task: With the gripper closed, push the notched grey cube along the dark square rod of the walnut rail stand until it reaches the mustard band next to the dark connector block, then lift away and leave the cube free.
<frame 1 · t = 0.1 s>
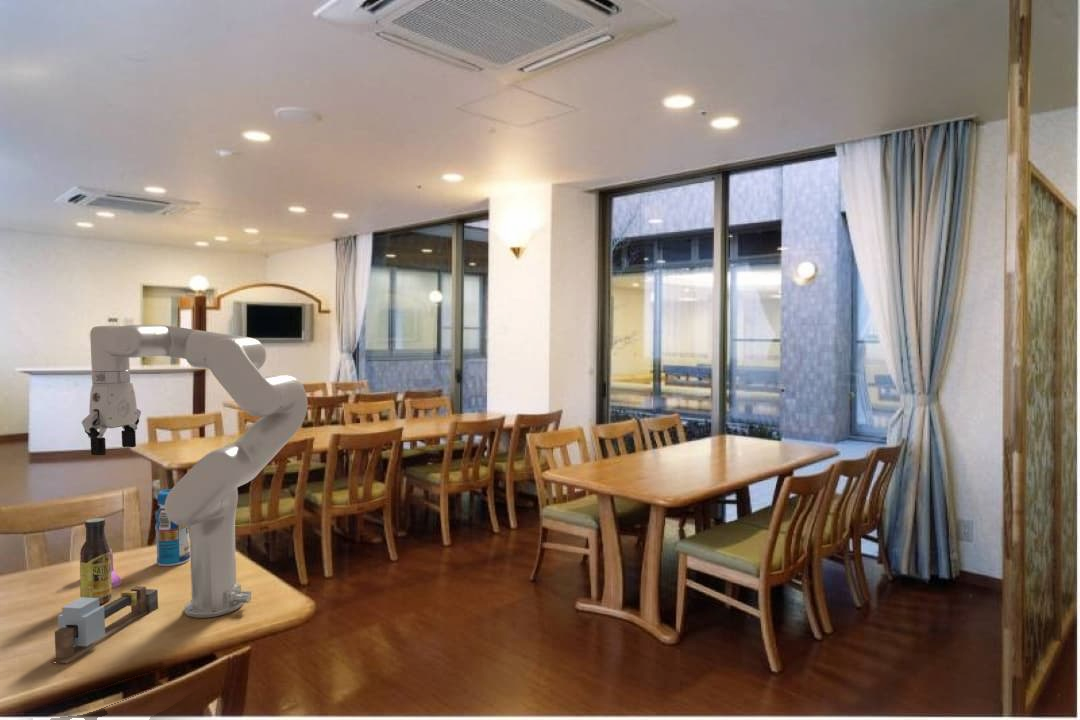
hand: (114, 450, 158), 37 cm above the table, tool pointing down, fingers open, 9 cm apart
beverage bottle: (173, 562, 188), on the table
notched grey cube: (81, 621, 137), point 6 cm above the table, slide at 0.0 cm
bracket: (104, 582, 174), on the table
sauce bottle: (97, 602, 161), on the table
rail stand: (104, 635, 144), on the table
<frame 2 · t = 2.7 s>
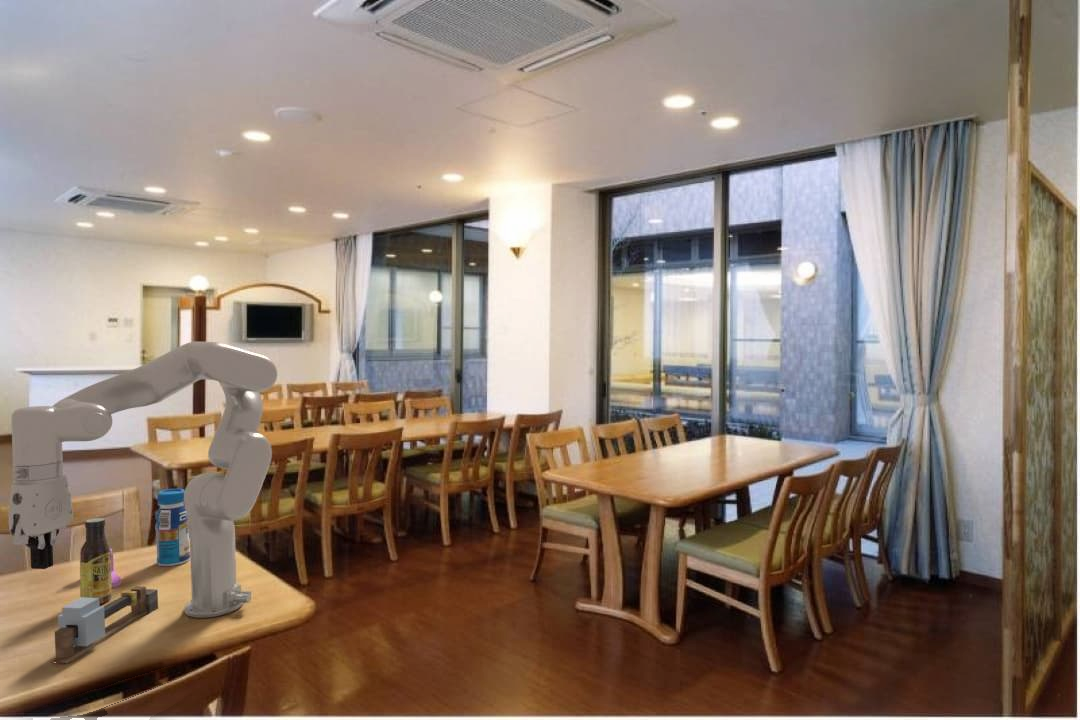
hand: (42, 567, 128), 20 cm above the table, tool pointing down, fingers closed
nothing on the table moved.
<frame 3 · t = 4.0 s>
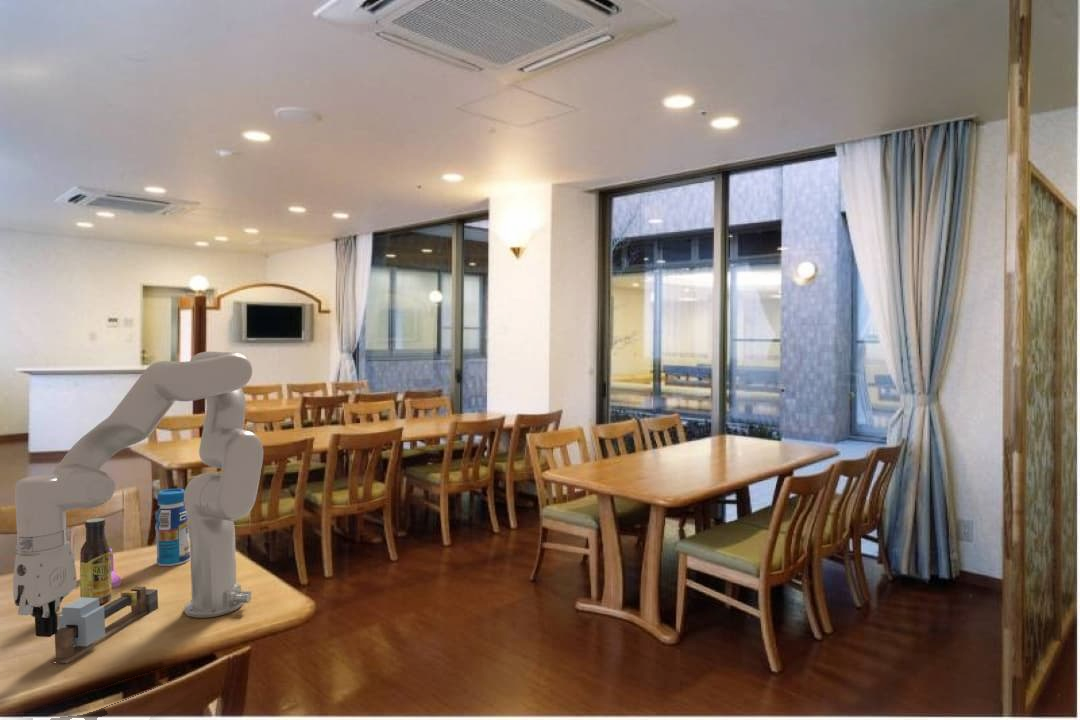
hand: (46, 634, 129), 7 cm above the table, tool pointing down, fingers closed
nothing on the table moved.
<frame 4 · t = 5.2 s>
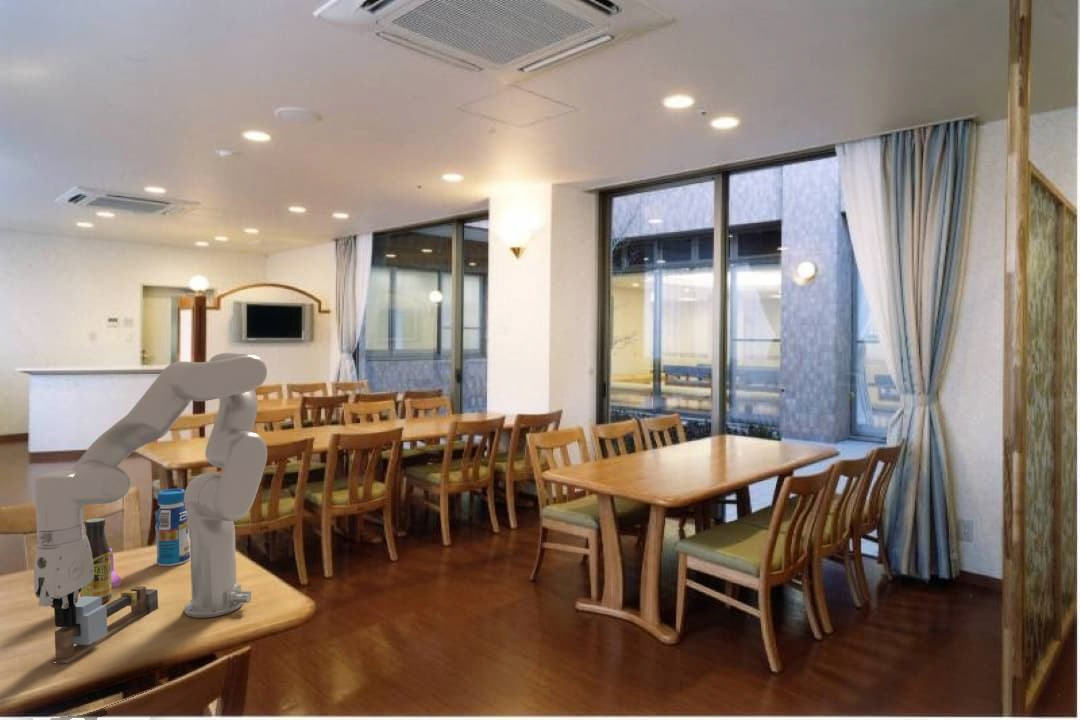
hand: (65, 625, 133), 7 cm above the table, tool pointing down, fingers closed
notched grey cube: (84, 619, 138), point 6 cm above the table, slide at 0.6 cm, touching gripper
everything else where it was.
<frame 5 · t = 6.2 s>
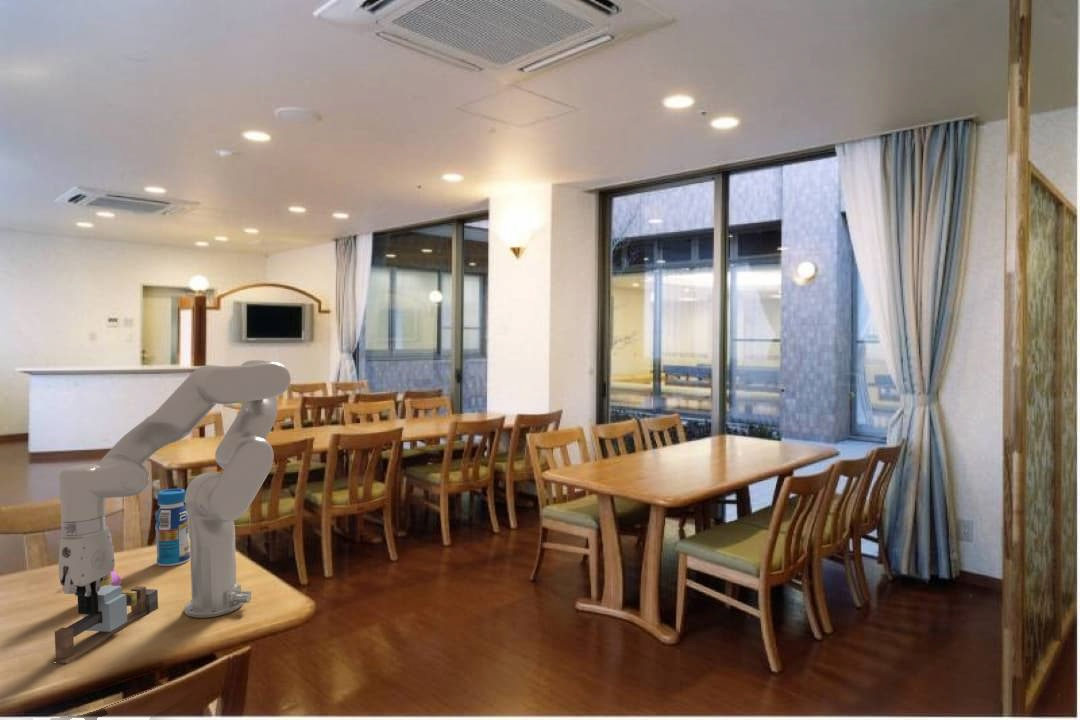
hand: (88, 612, 139), 7 cm above the table, tool pointing down, fingers closed
notched grey cube: (105, 608, 144), point 6 cm above the table, slide at 6.4 cm, touching gripper
everything else where it was.
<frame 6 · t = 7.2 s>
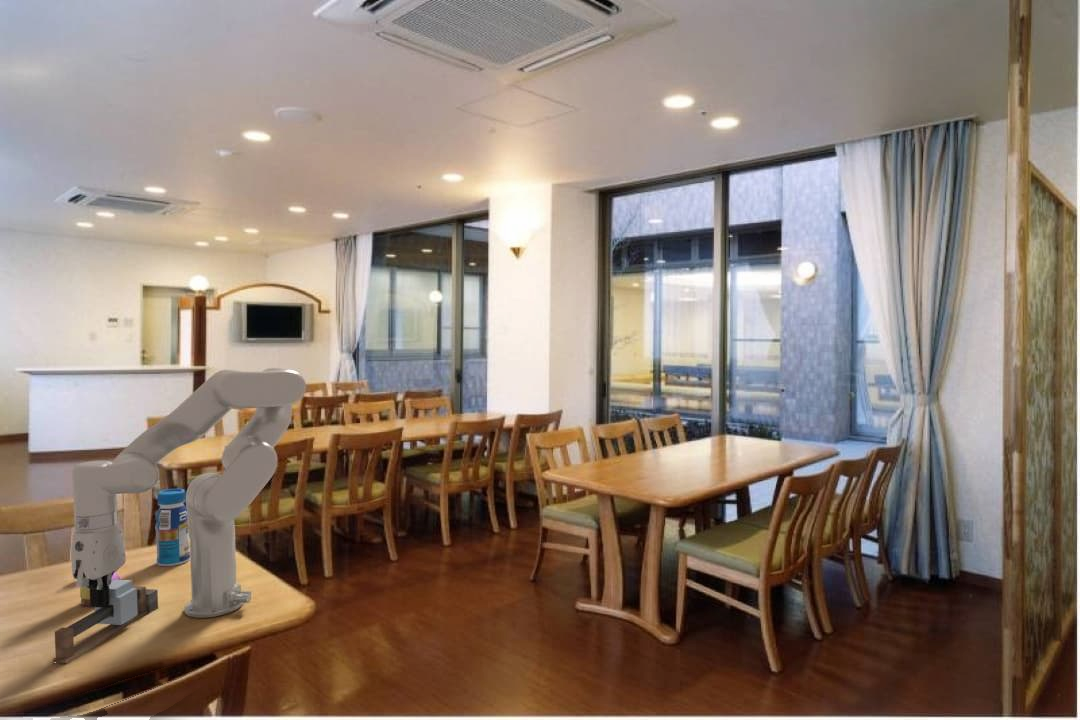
hand: (100, 605, 142), 7 cm above the table, tool pointing down, fingers closed
notched grey cube: (116, 601, 147), point 6 cm above the table, slide at 9.6 cm, touching gripper
everything else where it was.
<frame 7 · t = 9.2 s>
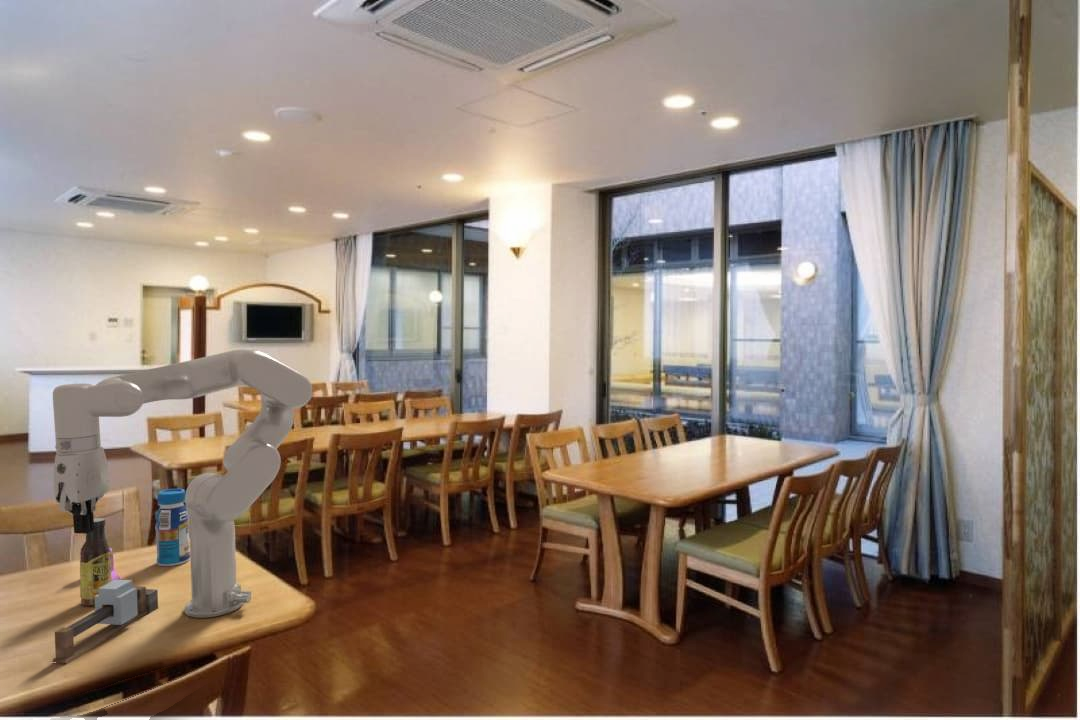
hand: (84, 532, 139), 24 cm above the table, tool pointing down, fingers closed
notched grey cube: (116, 601, 147), point 6 cm above the table, slide at 9.7 cm
everything else where it was.
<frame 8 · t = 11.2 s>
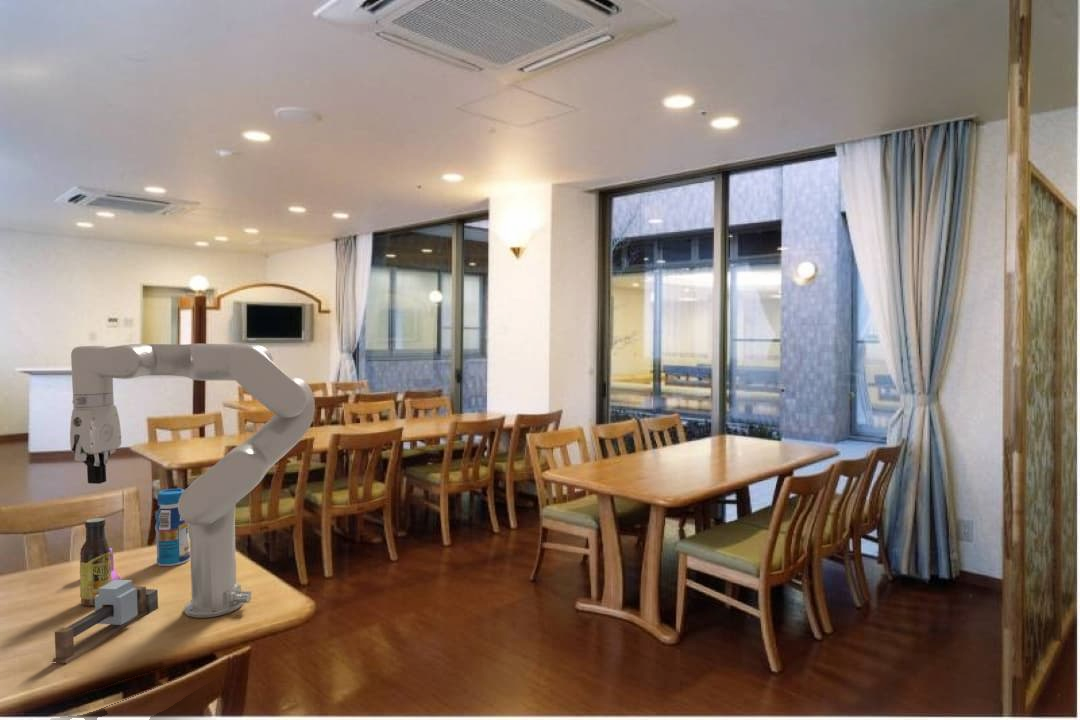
hand: (97, 482, 150), 31 cm above the table, tool pointing down, fingers closed
nothing on the table moved.
at the end: notched grey cube slide at 9.7 cm; the gripper is holding nothing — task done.
